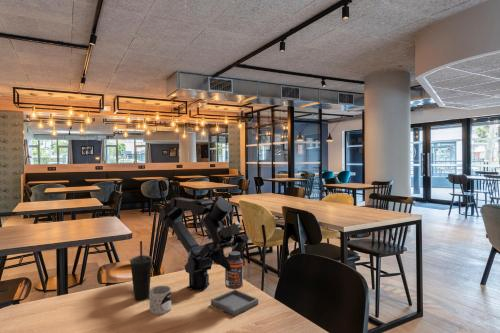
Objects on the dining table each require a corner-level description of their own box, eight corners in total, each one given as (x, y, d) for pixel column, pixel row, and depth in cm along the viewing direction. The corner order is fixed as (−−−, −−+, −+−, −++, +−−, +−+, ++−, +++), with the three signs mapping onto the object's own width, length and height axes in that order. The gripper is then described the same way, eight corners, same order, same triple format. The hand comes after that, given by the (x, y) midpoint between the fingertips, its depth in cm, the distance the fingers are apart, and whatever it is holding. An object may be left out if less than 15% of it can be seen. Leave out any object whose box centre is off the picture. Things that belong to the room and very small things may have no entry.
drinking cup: (156, 293, 115) (155, 238, 114) (147, 303, 107) (146, 244, 106) (136, 292, 116) (135, 238, 115) (126, 302, 108) (125, 244, 107)
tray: (210, 304, 106) (210, 299, 106) (235, 294, 114) (235, 289, 114) (234, 316, 98) (234, 311, 98) (258, 304, 106) (258, 298, 106)
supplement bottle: (227, 290, 102) (227, 256, 102) (223, 283, 108) (223, 250, 107) (245, 288, 104) (245, 254, 103) (240, 281, 110) (240, 249, 109)
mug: (165, 316, 99) (165, 295, 99) (145, 314, 100) (145, 293, 100) (178, 301, 109) (178, 282, 108) (160, 299, 110) (160, 280, 110)
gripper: (204, 219, 101) (227, 262, 94) (245, 211, 114) (268, 248, 107) (189, 239, 107) (210, 280, 100) (230, 229, 120) (251, 265, 113)
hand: (237, 267), depth 105 cm, fingers closed on supplement bottle, 6 cm apart
